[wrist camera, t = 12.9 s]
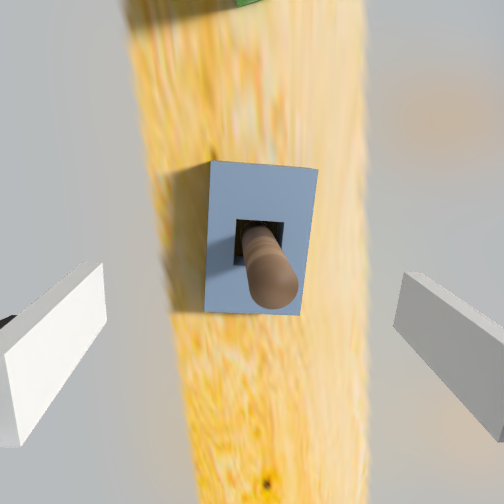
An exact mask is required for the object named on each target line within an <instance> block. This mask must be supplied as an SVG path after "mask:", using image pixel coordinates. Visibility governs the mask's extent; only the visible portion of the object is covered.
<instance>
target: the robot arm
mask: <svg viewBox="0 0 504 504" xmlns="http://www.w3.org/2000/svg"><path fill="white" fill-rule="evenodd" d="M106 322H107V316H106V303H105V290H104V277H103V264H102V262H83V263H81V264H80V265H79V266H78V267H77V268H75V269H74V270H73V271H72V272H70V273H69V274H68V275H67V276H66V277H64V278H63V279H62V280H60V281H59V282H58V283H57V284H56V285H54V286H53V287H52V288H51V289H49V290H48V291H47V292H46V293H45V294H43V295H42V296H41V297H40V298H39V299H37V300H36V301H35V302H34V303H32V304H31V305H30V306H29V307H27V308H26V309H25V310H24V311H22V312H21V313H20V314H19V315H11V316H9V317H7V318H5V319H2V320H0V447H21V446H22V444H23V443H24V441H25V440H26V439H27V437H28V436H29V434H30V433H31V431H32V430H33V428H34V427H35V426H36V424H37V423H38V421H39V420H40V418H41V417H42V415H43V414H44V412H45V411H46V409H47V408H48V407H49V405H50V404H51V402H52V400H53V399H54V398H55V396H56V395H57V393H58V392H59V391H60V389H61V388H62V386H63V384H64V383H65V382H66V380H67V379H68V377H69V376H70V374H71V373H72V371H73V370H74V369H75V367H76V366H77V364H78V363H79V361H80V360H81V358H82V357H83V355H84V354H85V353H86V351H87V349H88V348H89V347H90V345H91V344H92V342H93V341H94V339H95V338H96V337H97V335H98V334H99V332H100V331H101V329H102V328H103V326H104V325H105V323H106ZM393 327H394V328H395V329H396V330H397V331H398V333H399V334H400V335H401V336H402V337H403V338H404V339H405V340H406V341H407V342H408V344H409V345H410V346H411V347H412V348H413V349H414V350H415V351H416V352H417V353H418V355H419V356H420V357H421V358H422V359H423V360H424V361H425V362H426V363H427V365H428V366H429V367H430V368H431V369H432V370H433V371H434V372H435V373H436V375H437V376H438V377H439V378H440V379H441V380H442V381H443V382H444V383H445V384H446V385H447V387H448V388H449V389H450V390H451V391H452V392H453V393H454V394H455V395H456V397H457V398H458V399H459V400H460V401H461V402H462V403H463V404H464V405H465V407H466V408H467V409H468V410H469V411H470V412H471V413H472V414H473V415H474V417H475V418H476V419H477V420H478V421H479V422H480V423H481V424H482V425H483V427H484V428H485V429H486V430H487V431H488V432H489V433H490V434H491V435H492V436H493V438H495V440H496V441H497V442H504V328H503V327H502V326H500V325H499V324H497V323H495V322H494V321H493V320H491V319H489V318H488V317H487V316H485V315H483V314H482V313H480V312H479V311H477V310H476V309H475V308H473V307H472V306H470V305H469V304H467V303H466V302H464V301H463V300H461V299H459V298H458V297H457V296H455V295H453V294H452V293H450V292H449V291H447V290H446V289H444V288H443V287H442V286H440V285H439V284H437V283H436V282H434V281H433V280H431V279H430V278H428V277H427V276H425V275H423V274H422V273H421V272H404V274H403V280H402V285H401V290H400V295H399V300H398V305H397V310H396V315H395V320H394V325H393Z"/></svg>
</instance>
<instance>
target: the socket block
mask: <svg viewBox="0 0 504 504" xmlns="http://www.w3.org/2000/svg"><path fill="white" fill-rule="evenodd" d="M317 176H318V170H317V169H312V168H303V167H291V166H278V165H265V164H253V163H240V162H228V161H215V160H212V161H211V168H210V190H209V213H208V235H207V257H206V280H205V302H204V312H224V313H249V314H273V315H298V316H300V309H301V301H302V294H303V286H304V278H305V270H306V262H307V254H308V246H309V239H310V231H311V223H312V215H313V207H314V199H315V191H316V184H317ZM236 219H244V220H259V221H274V222H278V228H277V238H276V241H277V243H278V244H279V246H280V248H281V250H282V251H283V253H284V255H285V257H286V258H287V260H288V262H289V264H290V265H291V267H292V269H293V271H294V272H295V274H296V276H297V278H298V283H299V287H298V292H297V295H296V297H295V298H294V300H293V301H292V302H291V303H290V304H288V305H287V306H285V307H283V308H280V309H274V310H271V309H265V308H263V307H261V306H259V305H258V304H256V303H255V302H254V300H253V299H252V297H251V295H250V291H249V285H248V279H247V273H246V267H245V261H244V255H234V246H235V231H236Z"/></svg>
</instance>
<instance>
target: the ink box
mask: <svg viewBox="0 0 504 504" xmlns="http://www.w3.org/2000/svg"><path fill="white" fill-rule="evenodd" d="M235 1H236V4H237V6H238V7H241V6H244V5H247V4H250V3H253V2H257V1H260V0H235Z"/></svg>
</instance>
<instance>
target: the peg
mask: <svg viewBox="0 0 504 504" xmlns="http://www.w3.org/2000/svg"><path fill="white" fill-rule="evenodd" d="M240 237H241V243H242V249H243V255H244V261H245V267H246V273H247V279H248V285H249V291H250V295H251V297H252V299H253V300H254V302H255V303H256V304H258V305H259V306H261V307H263V308H265V309H271V310H274V309H280V308H283V307H285V306H287V305H288V304H290V303H291V302H292V301H293V300H294V298H295V297H296V295H297V292H298V287H299V283H298V278H297V276H296V274H295V272H294V271H293V269H292V267H291V265H290V264H289V262H288V260H287V258H286V257H285V255H284V253H283V251H282V250H281V248H280V246H279V244H278V243H277V241H276V239H275V237H274V236H273V234H272V232H271V230H270V229H269V227H268V225H267V224H265V223H264V222H262V221H259V220H253V221H250V222H248V223H246V224H245V225H244V226H243V228H242V230H241V234H240Z"/></svg>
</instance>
